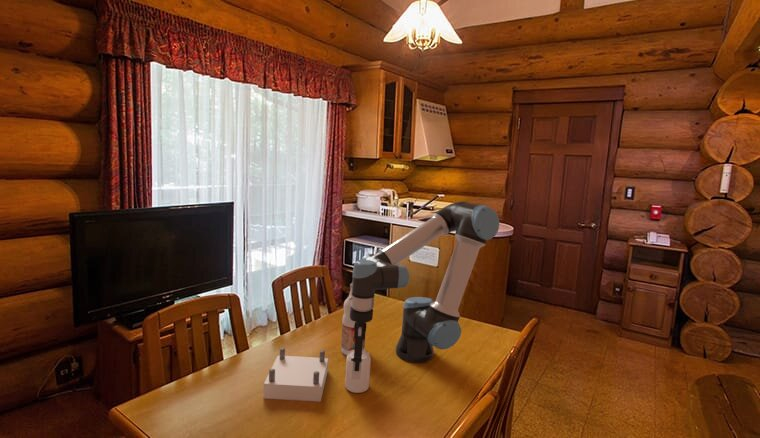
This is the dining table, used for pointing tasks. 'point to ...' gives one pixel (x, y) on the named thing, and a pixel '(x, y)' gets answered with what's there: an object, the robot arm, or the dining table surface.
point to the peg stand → (296, 378)
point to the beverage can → (363, 383)
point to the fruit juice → (348, 328)
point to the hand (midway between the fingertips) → (357, 368)
